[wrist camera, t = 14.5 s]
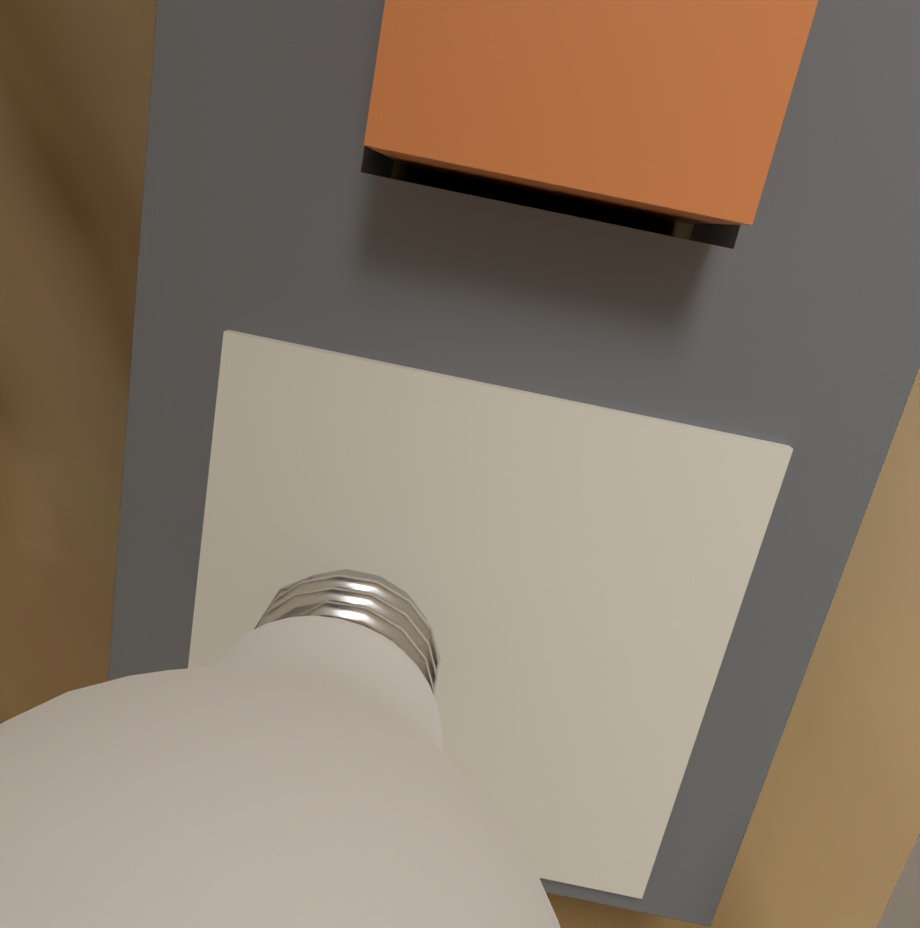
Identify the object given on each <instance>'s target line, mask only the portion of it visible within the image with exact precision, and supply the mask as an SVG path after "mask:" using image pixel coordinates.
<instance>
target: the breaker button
mask: <svg viewBox="0 0 920 928" xmlns="http://www.w3.org/2000/svg"><path fill="white" fill-rule="evenodd" d="M817 4H818V0H385V5H384V12H383V19H382V25H381V32H380V39H379V45H378V52H377V59H376V66H375V72H374V79H373V86H372V92H371V99H370V106H369V113H368V119H367V126H366V133H365V139H364V145H365V146H367V147H369V148H371V149H373V150H375V151H377V152H379V153H381V154H383V155H385V156H387V157H389V158H391V159H393V160H395V161H397V162H399V163H401V164H403V165H406V166H411V167H416V168H421V169H426V170H431V171H436V172H440V173H445V174H450V175H455V176H460V177H465V178H470V179H474V180H479V181H484V182H489V183H494V184H499V185H504V186H508V187H513V188H518V189H523V190H528V191H533V192H538V193H542V194H547V195H552V196H557V197H562V198H567V199H572V200H576V201H581V202H586V203H591V204H596V205H601V206H606V207H610V208H615V209H620V210H625V211H630V212H635V213H640V214H644V215H649V216H654V217H659V218H664V219H669V220H674V221H678V222H683V223H698V224H733V225H753V221H754V218H755V214H756V211H757V208H758V204H759V201H760V197H761V194H762V191H763V187H764V184H765V180H766V177H767V174H768V170H769V167H770V164H771V160H772V157H773V153H774V150H775V147H776V143H777V140H778V136H779V133H780V130H781V126H782V123H783V119H784V116H785V113H786V109H787V106H788V102H789V99H790V96H791V92H792V89H793V85H794V82H795V79H796V75H797V72H798V68H799V65H800V62H801V58H802V55H803V51H804V48H805V45H806V41H807V38H808V34H809V31H810V28H811V24H812V21H813V17H814V14H815V11H816V7H817Z"/></svg>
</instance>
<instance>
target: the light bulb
mask: <svg viewBox="0 0 920 928" xmlns="http://www.w3.org/2000/svg"><path fill="white" fill-rule="evenodd" d="M439 665H440V657H439V653H438V649H437V645H436V641H435V637H434V634H433V630H432V627H431V626H430V624H429V623H428V622H427V619H426V617H425V616H424V614H423V613H422V612H421V610H420V609H419V608H418V606H417V605H416V604H415V603H414V601H413V600H412V599H411V597H410V596H409V595H408V593H406V592H405V591H403V590H402V589H400V588H398V587H397V586H395V585H393V584H392V583H390V582H389V581H387V580H385V579H384V578H382V577H380V576H378V575H373V574H368V573H363V572H358V571H353V570H348V569H345V570H339V571H333V572H327V573H321V574H315V575H312V576H310V577H307V578H305V579H302V580H300V581H297V582H294V583H292V584H289V585H287V586H284V587H282V588H280V589H279V590H278V592H277V593H276V595H275V596H274V598H273V599H272V601H271V603H270V604H269V606H268V607H267V609H266V610H265V612H264V613H263V615H262V617H261V618H260V620H259V622H258V623H257V625H256V626H255V628H254V629H253V631H250V632H248V633H247V634H245V635H244V636H243V637H241V638H240V639H239V640H237V641H236V642H235V643H233V644H232V645H231V646H230V647H228V648H227V649H226V650H224V651H223V652H222V653H221V654H220V655H219V656H218V657H217V658H216V660H215V661H214V662H213V663H212V664H211V665H210V667H199V668H187V669H175V670H166V671H159V672H152V673H145V674H138V675H131V676H127V677H123V678H119V679H115V680H111V681H107V682H103V683H100V684H96V685H92V686H88V687H84V688H80V689H76V690H72V691H69V692H66V693H64V694H62V695H60V696H58V697H56V698H53V699H51V700H49V701H47V702H45V703H43V704H41V705H39V706H36V707H34V708H32V709H30V710H28V711H26V712H24V713H22V714H19V715H17V716H15V717H13V718H11V719H9V720H7V721H5V722H3V723H1V724H0V928H560V925H559V922H558V919H557V917H556V915H555V913H554V910H553V908H552V906H551V903H550V901H549V899H548V897H547V894H546V892H545V890H544V888H543V885H542V883H541V881H540V878H539V876H538V874H537V872H536V869H535V867H534V865H533V864H532V862H531V861H530V859H529V857H528V856H527V854H526V853H525V851H524V849H523V848H522V846H521V845H520V843H519V842H518V840H517V838H516V837H515V835H514V834H513V832H512V830H511V829H510V827H509V826H508V824H507V823H506V821H505V819H504V818H503V816H502V815H501V814H500V813H499V812H498V810H497V809H496V808H495V807H494V806H493V805H492V804H491V803H490V801H489V800H488V799H487V798H486V797H485V796H484V795H483V793H482V792H481V791H480V790H479V789H478V788H477V787H476V786H475V784H474V783H473V782H472V781H471V780H470V779H469V778H468V777H467V776H466V775H465V774H464V773H463V772H462V771H461V770H460V769H459V768H458V767H457V766H456V765H455V764H454V763H453V762H452V761H451V759H450V758H449V757H448V756H447V755H446V754H445V753H444V752H443V736H442V729H441V721H440V715H439V711H438V706H437V703H436V701H435V698H434V695H435V687H436V682H437V677H438V670H439Z"/></svg>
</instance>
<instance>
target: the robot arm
mask: <svg viewBox="0 0 920 928" xmlns="http://www.w3.org/2000/svg"><path fill="white" fill-rule="evenodd" d="M877 928H920V834H919V837H918V839H917V841H916V843H915V845H914V847H913V850H912V852H911V854H910V856H909V858H908V861H907V863H906V865H905V867H904V869H903V871H902V874H901V876H900V878H899V880H898V882H897V885H896V887H895V889H894V891H893V893H892V895H891V898H890V900H889V902H888V904H887V906H886V908H885V911H884V913H883V915H882V917H881V919H880V922H879V924H878V926H877Z"/></svg>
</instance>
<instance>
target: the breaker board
mask: <svg viewBox="0 0 920 928" xmlns="http://www.w3.org/2000/svg"><path fill="white" fill-rule="evenodd" d="M384 5H385V0H157V8H156V22H155V35H154V49H153V63H152V77H151V91H150V105H149V119H148V132H147V146H146V160H145V174H144V188H143V202H142V215H141V229H140V243H139V257H138V271H137V285H136V299H135V312H134V326H133V340H132V354H131V368H130V382H129V396H128V409H127V423H126V437H125V451H124V465H123V479H122V493H121V506H120V520H119V534H118V548H117V562H116V576H115V590H114V603H113V617H112V631H111V645H110V659H109V673H108V681H111V680H115V679H119V678H123V677H127V676H131V675H138V674H145V673H152V672H159V671H166V670H175V669H187V668H199V667H210V665H211V664H212V663H213V662H214V661H215V660H216V658H217V657H218V656H219V655H220V654H221V653H222V652H223V651H224V650H226V649H227V648H228V647H230V646H231V645H232V644H233V643H235V642H236V641H237V640H239V639H240V638H241V637H243V636H244V635H245V634H247V633H248V632H250V631H253V629H254V628H255V626H256V625H257V623H258V622H259V620H260V618H261V617H262V615H263V613H264V612H265V610H266V609H267V607H268V606H269V604H270V603H271V601H272V599H273V598H274V596H275V595H276V593H277V592H278V590H279V589H280V588H282V587H284V586H287V585H289V584H292V583H294V582H297V581H300V580H302V579H305V578H307V577H310V576H312V575H315V574H321V573H327V572H333V571H339V570H345V569H348V570H353V571H358V572H363V573H368V574H373V575H378V576H380V577H382V578H384V579H385V580H387V581H389V582H390V583H392V584H393V585H395V586H397V587H398V588H400V589H402V590H403V591H405V592H406V593H408V595H409V596H410V597H411V599H412V600H413V601H414V603H415V604H416V605H417V606H418V608H419V609H420V610H421V612H422V613H423V614H424V616H425V617H426V619H427V622H428V623H429V624H430V626H431V627H432V630H433V634H434V637H435V641H436V645H437V649H438V653H439V657H440V665H439V670H438V677H437V682H436V687H435V695H434V698H435V701H436V703H437V706H438V711H439V715H440V721H441V729H442V736H443V752H444V753H445V754H446V755H447V756H448V757H449V758H450V759H451V761H452V762H453V763H454V764H455V765H456V766H457V767H458V768H459V769H460V770H461V771H462V772H463V773H464V774H465V775H466V776H467V777H468V778H469V779H470V780H471V781H472V782H473V783H474V784H475V786H476V787H477V788H478V789H479V790H480V791H481V792H482V793H483V795H484V796H485V797H486V798H487V799H488V800H489V801H490V803H491V804H492V805H493V806H494V807H495V808H496V809H497V810H498V812H499V813H500V814H501V815H502V816H503V818H504V819H505V821H506V823H507V824H508V826H509V827H510V829H511V830H512V832H513V834H514V835H515V837H516V838H517V840H518V842H519V843H520V845H521V846H522V848H523V849H524V851H525V853H526V854H527V856H528V857H529V859H530V861H531V862H532V864H533V865H534V867H535V869H536V872H537V874H538V876H539V878H540V881H541V883H542V885H543V888H544V890H545V892H546V893H551V894H556V895H561V896H565V897H570V898H575V899H580V900H585V901H589V902H594V903H599V904H604V905H609V906H614V907H618V908H623V909H628V910H633V911H638V912H642V913H647V914H652V915H657V916H662V917H667V918H671V919H676V920H681V921H686V922H691V923H695V924H700V925H705V926H710V925H711V923H712V920H713V917H714V915H715V912H716V909H717V907H718V904H719V901H720V899H721V896H722V893H723V891H724V888H725V885H726V883H727V880H728V877H729V874H730V872H731V869H732V866H733V864H734V861H735V858H736V856H737V853H738V850H739V848H740V845H741V842H742V840H743V837H744V834H745V832H746V829H747V826H748V824H749V821H750V818H751V816H752V813H753V810H754V808H755V805H756V802H757V800H758V797H759V794H760V792H761V789H762V786H763V784H764V781H765V778H766V776H767V773H768V770H769V768H770V765H771V762H772V760H773V757H774V754H775V752H776V749H777V746H778V744H779V741H780V738H781V736H782V733H783V730H784V728H785V725H786V722H787V720H788V717H789V714H790V711H791V709H792V706H793V703H794V701H795V698H796V695H797V693H798V690H799V687H800V685H801V682H802V679H803V677H804V674H805V671H806V669H807V666H808V663H809V661H810V658H811V655H812V653H813V650H814V647H815V645H816V642H817V639H818V637H819V634H820V631H821V629H822V626H823V623H824V621H825V618H826V615H827V613H828V610H829V607H830V605H831V602H832V599H833V597H834V594H835V591H836V589H837V586H838V583H839V581H840V578H841V575H842V573H843V570H844V567H845V565H846V562H847V559H848V557H849V554H850V551H851V549H852V546H853V543H854V540H855V538H856V535H857V532H858V530H859V527H860V524H861V522H862V519H863V516H864V514H865V511H866V508H867V506H868V503H869V500H870V498H871V495H872V492H873V490H874V487H875V484H876V482H877V479H878V476H879V474H880V471H881V468H882V466H883V463H884V460H885V458H886V455H887V452H888V450H889V447H890V444H891V442H892V439H893V436H894V434H895V431H896V428H897V426H898V423H899V420H900V418H901V415H902V412H903V410H904V407H905V404H906V402H907V399H908V396H909V394H910V391H911V388H912V386H913V383H914V380H915V378H916V375H917V372H918V369H919V367H920V0H818V4H817V7H816V11H815V14H814V17H813V21H812V24H811V28H810V31H809V34H808V38H807V41H806V45H805V48H804V51H803V55H802V58H801V62H800V65H799V68H798V72H797V75H796V79H795V82H794V85H793V89H792V92H791V96H790V99H789V102H788V106H787V109H786V113H785V116H784V119H783V123H782V126H781V130H780V133H779V136H778V140H777V143H776V147H775V150H774V153H773V157H772V160H771V164H770V167H769V170H768V174H767V177H766V180H765V184H764V187H763V191H762V194H761V197H760V201H759V204H758V208H757V211H756V214H755V218H754V221H753V225H733V224H698V223H696V225H695V228H694V232H693V236H692V239H691V240H687V239H682V238H677V237H672V236H667V235H663V234H658V233H653V232H648V231H643V230H638V229H633V228H629V227H624V226H619V225H614V224H609V223H604V222H600V221H595V220H590V219H585V218H580V217H575V216H570V215H566V214H561V213H556V212H551V211H546V210H541V209H536V208H532V207H527V206H522V205H517V204H512V203H507V202H502V201H498V200H493V199H488V198H483V197H478V196H473V195H468V194H464V193H459V192H454V191H449V190H444V189H439V188H434V187H430V186H425V185H420V184H415V183H410V182H405V181H400V180H396V179H391V173H392V167H393V161H394V160H393V159H391V158H389V157H387V156H385V155H383V154H381V153H379V152H377V151H375V150H373V149H371V148H369V147H367V146H365V145H364V139H365V133H366V126H367V119H368V113H369V106H370V99H371V92H372V86H373V79H374V72H375V66H376V59H377V52H378V45H379V39H380V32H381V25H382V19H383V12H384Z"/></svg>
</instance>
